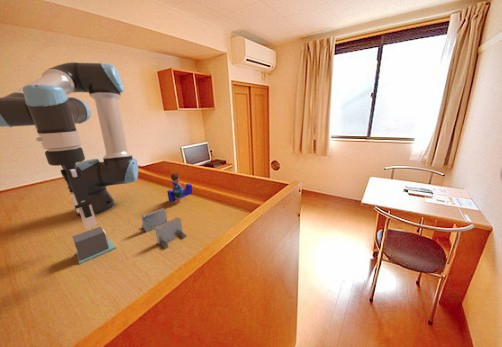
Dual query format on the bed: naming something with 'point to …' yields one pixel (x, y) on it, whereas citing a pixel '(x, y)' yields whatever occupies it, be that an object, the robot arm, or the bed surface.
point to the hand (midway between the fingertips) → (86, 218)
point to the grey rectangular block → (91, 242)
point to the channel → (162, 226)
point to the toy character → (176, 187)
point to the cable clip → (185, 193)
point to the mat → (111, 247)
